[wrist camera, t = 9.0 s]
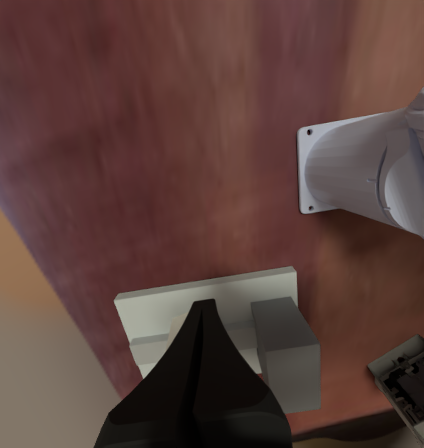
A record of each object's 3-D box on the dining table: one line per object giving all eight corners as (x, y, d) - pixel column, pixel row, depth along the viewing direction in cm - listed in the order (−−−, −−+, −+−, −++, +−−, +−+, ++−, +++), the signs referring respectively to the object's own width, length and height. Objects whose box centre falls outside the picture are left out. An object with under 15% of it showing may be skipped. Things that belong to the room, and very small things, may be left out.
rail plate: (291, 266, 22) (329, 312, 15) (296, 358, 26) (328, 428, 19) (118, 293, 23) (79, 350, 16) (150, 379, 27) (130, 454, 20)
